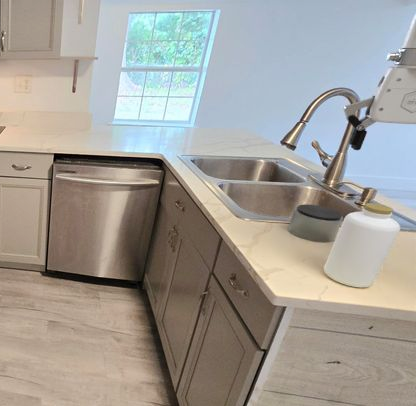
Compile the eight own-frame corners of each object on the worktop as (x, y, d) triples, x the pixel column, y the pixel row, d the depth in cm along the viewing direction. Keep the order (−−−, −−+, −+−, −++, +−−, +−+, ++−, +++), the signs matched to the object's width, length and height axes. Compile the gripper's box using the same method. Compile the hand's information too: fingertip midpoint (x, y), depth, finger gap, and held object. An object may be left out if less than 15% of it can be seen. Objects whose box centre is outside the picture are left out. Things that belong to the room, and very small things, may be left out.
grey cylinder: (339, 235, 101) (349, 212, 98) (327, 246, 96) (337, 222, 93) (295, 222, 109) (302, 201, 106) (282, 232, 104) (289, 209, 101)
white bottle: (372, 278, 83) (407, 206, 76) (371, 294, 78) (409, 219, 71) (324, 264, 89) (352, 196, 81) (320, 279, 83) (350, 207, 76)
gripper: (368, 60, 67) (335, 151, 74) (515, 59, 59) (463, 161, 65) (355, 59, 73) (326, 142, 80) (488, 57, 64) (442, 151, 71)
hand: (387, 151), depth 72 cm, fingers open, 9 cm apart
